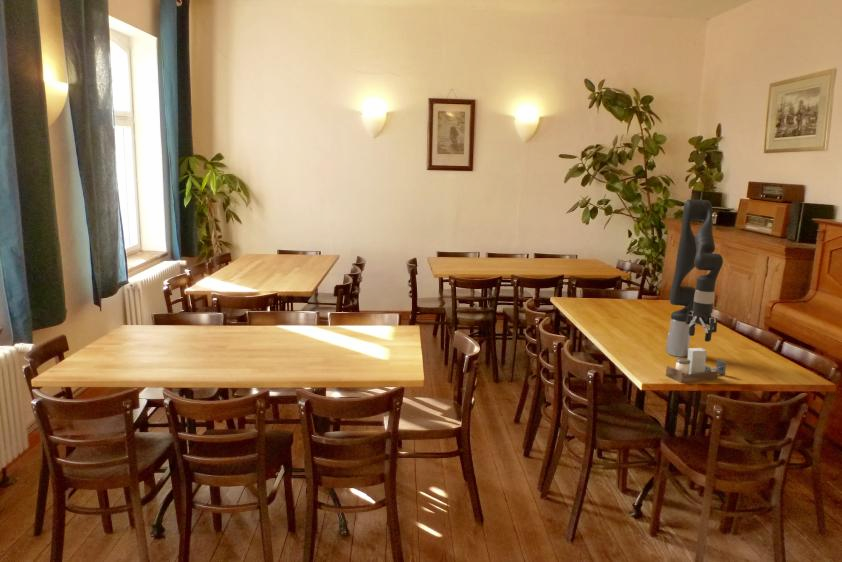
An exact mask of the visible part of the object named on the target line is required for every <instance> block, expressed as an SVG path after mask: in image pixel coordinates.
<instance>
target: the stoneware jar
mask: <svg viewBox="0 0 842 562" xmlns="http://www.w3.org/2000/svg"><path fill="white" fill-rule="evenodd" d="M675 359H676V360H675V369H677V370H679V371H681V372H684V375H689V366H690V360H688V358H685V357H678V358H677V357H676V358H675Z"/></svg>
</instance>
